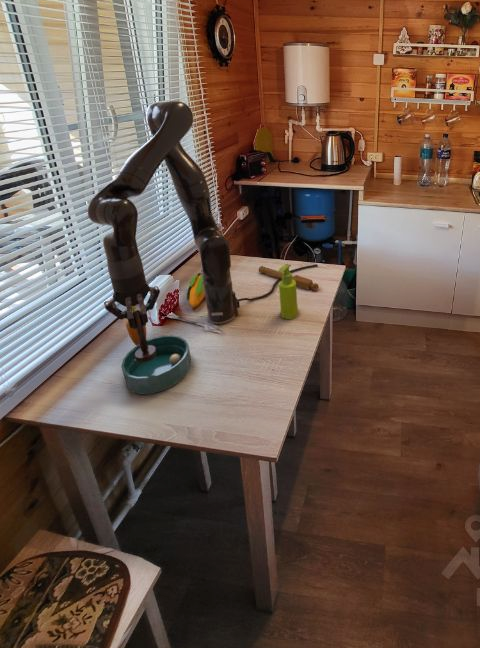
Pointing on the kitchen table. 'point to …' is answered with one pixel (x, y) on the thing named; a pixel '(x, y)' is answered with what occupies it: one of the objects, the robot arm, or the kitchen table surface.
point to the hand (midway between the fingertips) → (139, 325)
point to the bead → (174, 359)
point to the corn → (195, 290)
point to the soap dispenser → (287, 294)
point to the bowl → (157, 366)
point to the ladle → (142, 341)
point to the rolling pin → (299, 280)
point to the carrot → (134, 331)
